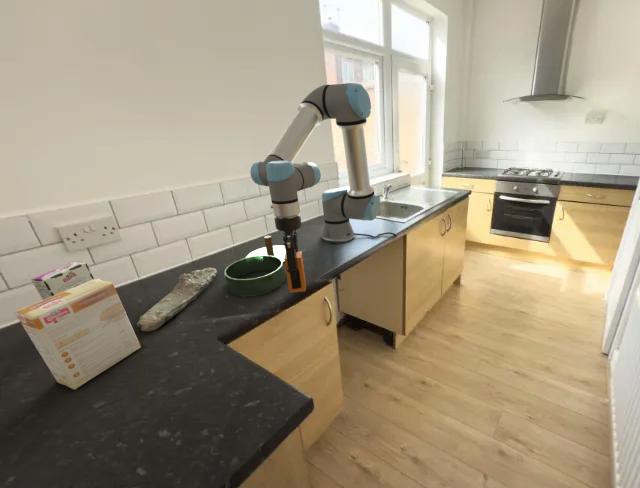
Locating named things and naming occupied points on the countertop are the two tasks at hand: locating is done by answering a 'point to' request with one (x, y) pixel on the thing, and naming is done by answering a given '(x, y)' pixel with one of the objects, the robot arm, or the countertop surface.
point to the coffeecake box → (80, 331)
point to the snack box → (301, 272)
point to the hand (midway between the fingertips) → (297, 283)
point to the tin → (255, 284)
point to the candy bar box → (62, 279)
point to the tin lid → (269, 250)
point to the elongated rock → (177, 298)
